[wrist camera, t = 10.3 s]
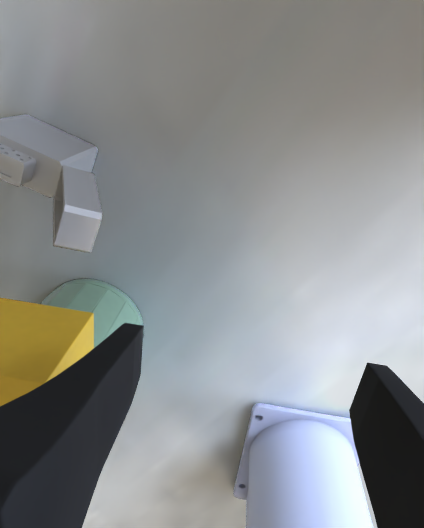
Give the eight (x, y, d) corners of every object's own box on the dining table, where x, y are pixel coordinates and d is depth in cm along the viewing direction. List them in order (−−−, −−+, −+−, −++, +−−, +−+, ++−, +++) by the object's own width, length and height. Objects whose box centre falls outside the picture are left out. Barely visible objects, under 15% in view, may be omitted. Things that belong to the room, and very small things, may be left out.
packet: (94, 463, 22) (57, 552, 18) (14, 449, 22) (-41, 533, 18) (94, 312, 18) (45, 383, 14) (-6, 296, 18) (-84, 361, 14)
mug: (74, 258, 24) (20, 312, 18) (163, 319, 25) (138, 386, 19) (13, 350, 27) (-48, 418, 22) (94, 399, 28) (56, 475, 23)
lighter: (16, 144, 21) (-108, 178, 14) (23, 112, 20) (-105, 131, 13) (140, 200, 22) (84, 261, 14) (151, 171, 21) (97, 220, 14)
